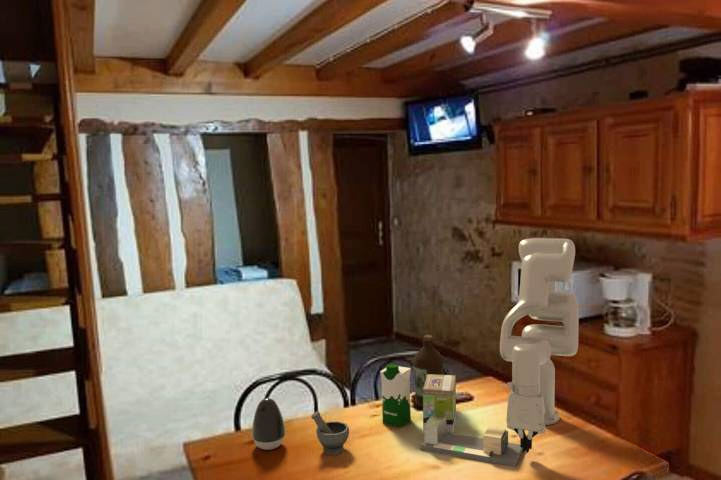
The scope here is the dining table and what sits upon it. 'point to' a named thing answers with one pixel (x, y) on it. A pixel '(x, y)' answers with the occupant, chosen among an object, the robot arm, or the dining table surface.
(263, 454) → the dining table surface
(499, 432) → the block
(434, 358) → the olive oil
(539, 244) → the robot arm
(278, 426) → the aroma diffuser
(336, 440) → the mortar and pestle
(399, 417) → the milk carton
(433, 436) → the light grey block
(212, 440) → the dining table surface
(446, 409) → the tea box
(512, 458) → the base
